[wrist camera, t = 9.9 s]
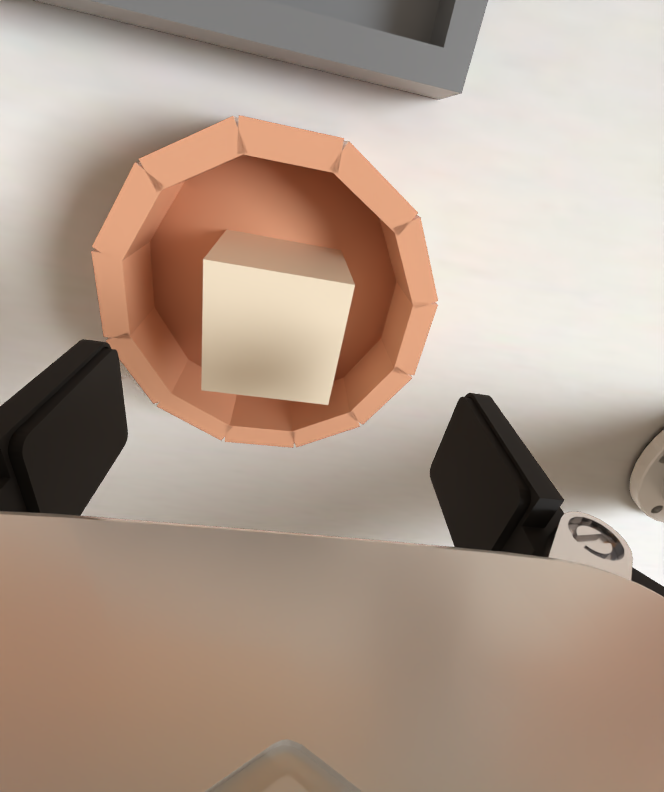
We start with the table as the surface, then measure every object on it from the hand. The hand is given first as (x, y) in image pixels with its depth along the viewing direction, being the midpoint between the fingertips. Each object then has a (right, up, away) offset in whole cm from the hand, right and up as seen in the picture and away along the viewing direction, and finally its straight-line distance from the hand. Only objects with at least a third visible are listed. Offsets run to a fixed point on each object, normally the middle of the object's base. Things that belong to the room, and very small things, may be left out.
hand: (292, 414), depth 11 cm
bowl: (-2, +6, +8) cm, 10 cm away
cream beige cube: (-1, +5, +7) cm, 9 cm away
